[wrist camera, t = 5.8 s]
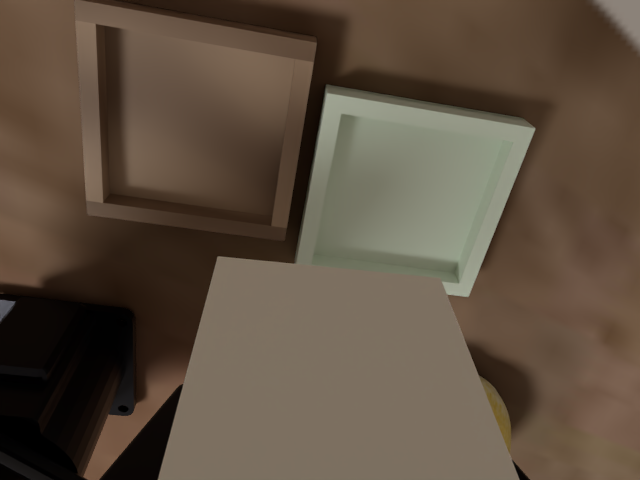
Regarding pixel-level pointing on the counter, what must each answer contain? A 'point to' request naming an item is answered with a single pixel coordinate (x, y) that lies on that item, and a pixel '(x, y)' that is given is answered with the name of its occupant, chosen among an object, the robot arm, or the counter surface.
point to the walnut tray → (190, 117)
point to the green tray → (408, 186)
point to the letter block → (331, 381)
